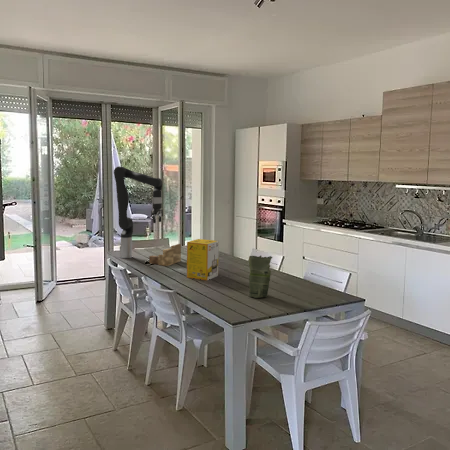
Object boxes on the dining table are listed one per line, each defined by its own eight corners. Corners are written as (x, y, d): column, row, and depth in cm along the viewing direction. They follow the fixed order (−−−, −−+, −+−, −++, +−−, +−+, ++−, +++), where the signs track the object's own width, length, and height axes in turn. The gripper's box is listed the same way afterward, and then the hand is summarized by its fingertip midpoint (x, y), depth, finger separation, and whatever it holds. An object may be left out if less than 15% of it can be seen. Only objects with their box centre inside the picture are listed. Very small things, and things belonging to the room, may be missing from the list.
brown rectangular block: (149, 263, 363) (149, 255, 363) (152, 262, 367) (152, 255, 366) (163, 264, 358) (163, 257, 358) (166, 263, 362) (166, 256, 361)
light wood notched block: (158, 265, 357) (158, 247, 355) (172, 260, 376) (172, 243, 374) (167, 266, 354) (167, 248, 352) (180, 261, 373) (180, 244, 371)
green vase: (245, 295, 278) (246, 254, 275) (261, 292, 284) (262, 252, 281) (256, 300, 269) (257, 257, 265) (272, 297, 275) (274, 256, 272)
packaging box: (198, 272, 333) (198, 238, 330) (218, 275, 326) (218, 240, 323) (186, 277, 319) (186, 242, 316) (207, 280, 312) (207, 244, 309)
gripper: (157, 201, 383) (157, 221, 386) (148, 203, 371) (148, 223, 373) (165, 202, 380) (165, 221, 383) (156, 203, 368) (156, 223, 370)
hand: (157, 222), depth 378 cm, fingers open, 8 cm apart
